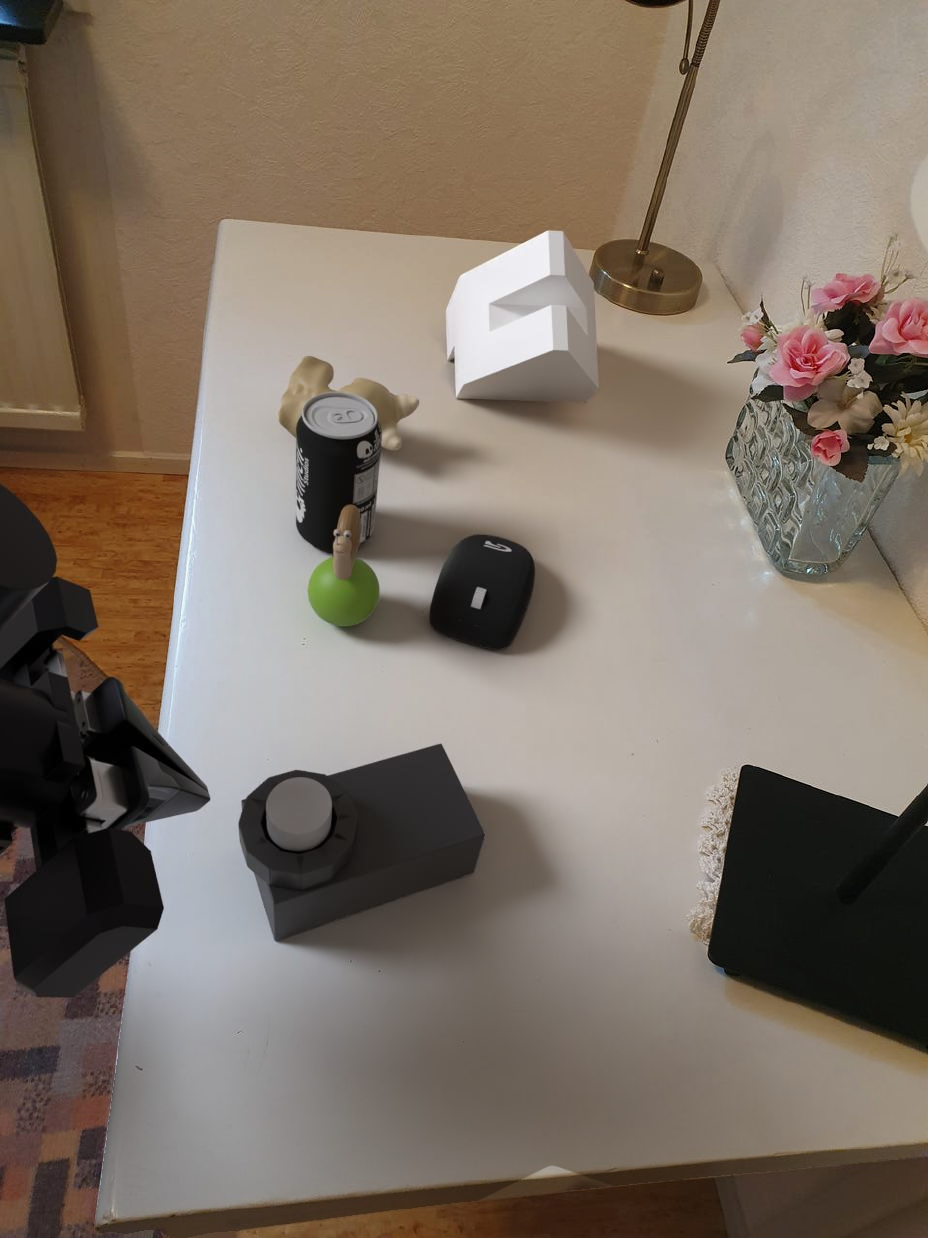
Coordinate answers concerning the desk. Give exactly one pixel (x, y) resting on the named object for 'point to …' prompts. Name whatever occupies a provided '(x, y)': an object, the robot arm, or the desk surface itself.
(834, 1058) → the desk surface
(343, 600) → the snail figurine
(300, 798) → the gray round disc
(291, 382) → the dinosaur figurine
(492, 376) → the slotted wedge
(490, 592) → the computer mouse
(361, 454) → the beverage can
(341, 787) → the push button base
